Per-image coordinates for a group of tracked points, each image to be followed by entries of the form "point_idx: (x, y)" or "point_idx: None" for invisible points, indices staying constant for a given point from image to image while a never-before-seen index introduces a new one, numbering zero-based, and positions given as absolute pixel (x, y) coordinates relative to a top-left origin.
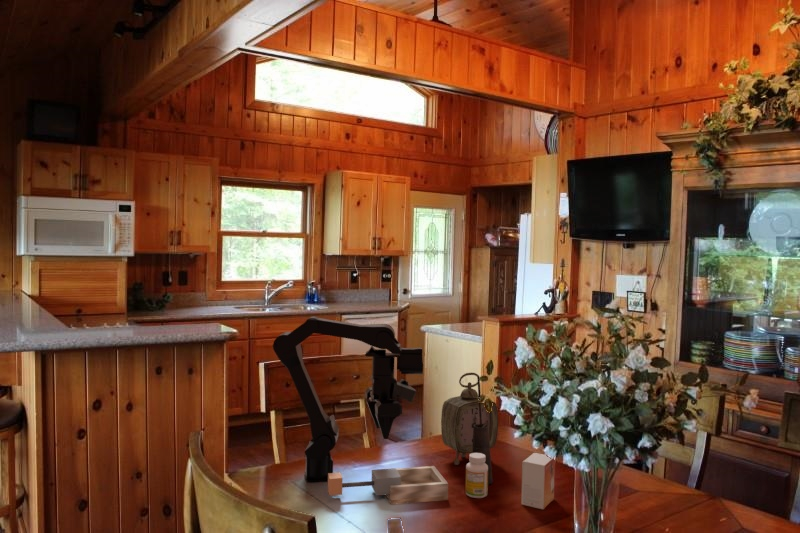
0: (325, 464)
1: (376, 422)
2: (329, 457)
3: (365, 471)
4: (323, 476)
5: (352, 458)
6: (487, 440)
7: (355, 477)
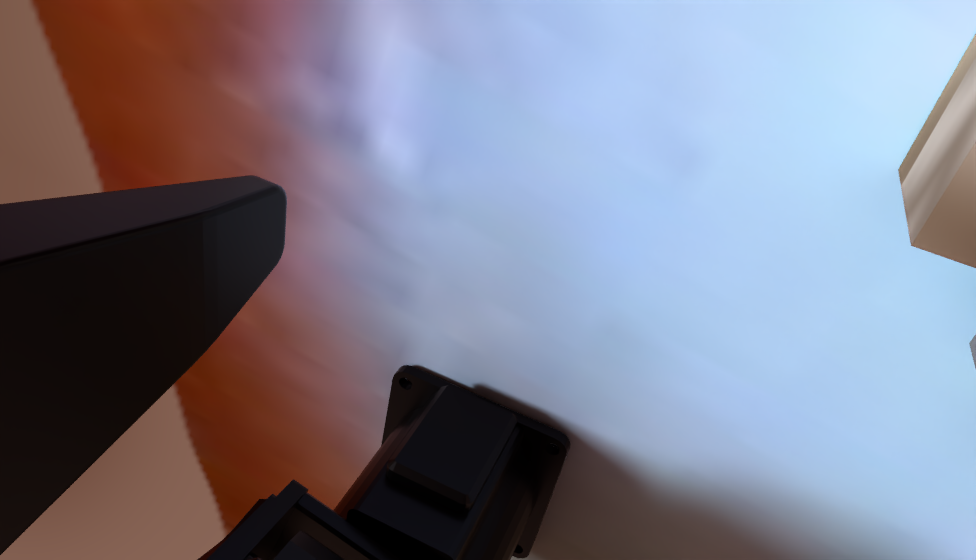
0: (495, 545)
1: (196, 328)
2: (462, 553)
3: (486, 112)
4: (530, 489)
5: (172, 58)
6: None
7: (581, 260)
